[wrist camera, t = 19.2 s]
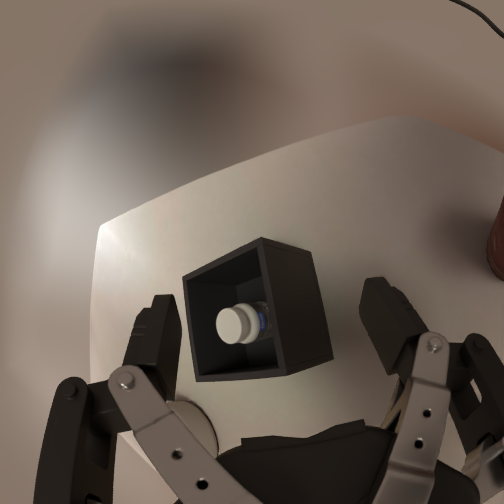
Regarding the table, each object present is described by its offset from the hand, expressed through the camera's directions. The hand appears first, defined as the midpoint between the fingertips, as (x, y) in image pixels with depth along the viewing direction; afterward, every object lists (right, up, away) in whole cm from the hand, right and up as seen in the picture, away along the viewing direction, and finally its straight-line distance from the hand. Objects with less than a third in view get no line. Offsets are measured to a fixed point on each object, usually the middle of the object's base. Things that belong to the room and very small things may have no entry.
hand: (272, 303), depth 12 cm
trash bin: (+3, -7, +26) cm, 27 cm away
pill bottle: (+2, -6, +25) cm, 26 cm away
